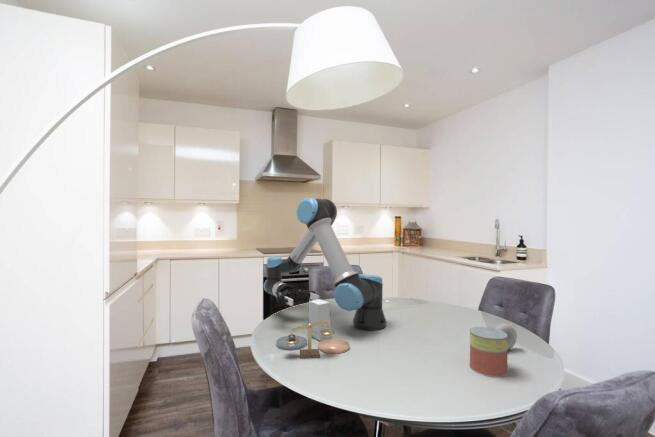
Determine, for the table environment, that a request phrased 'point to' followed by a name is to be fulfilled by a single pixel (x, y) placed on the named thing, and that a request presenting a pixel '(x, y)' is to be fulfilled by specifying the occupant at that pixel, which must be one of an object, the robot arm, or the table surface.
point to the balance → (308, 352)
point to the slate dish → (282, 345)
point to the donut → (511, 334)
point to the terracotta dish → (333, 346)
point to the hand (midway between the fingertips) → (306, 300)
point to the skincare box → (319, 317)
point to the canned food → (488, 351)
